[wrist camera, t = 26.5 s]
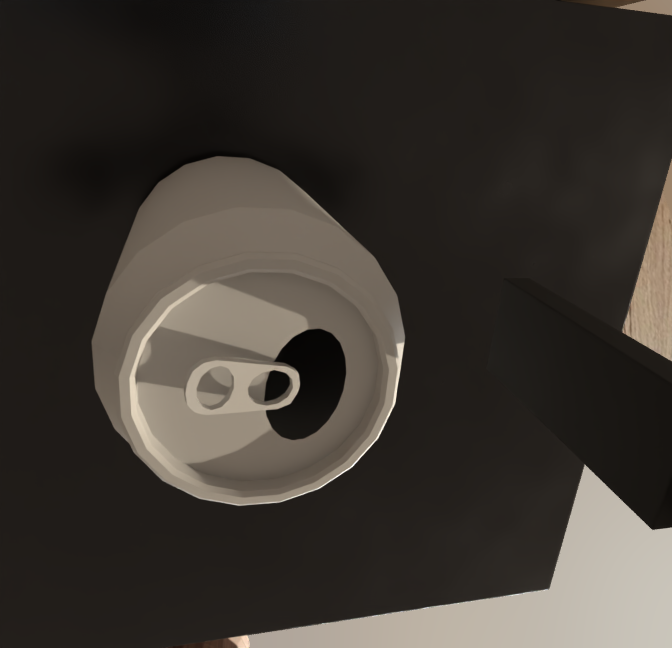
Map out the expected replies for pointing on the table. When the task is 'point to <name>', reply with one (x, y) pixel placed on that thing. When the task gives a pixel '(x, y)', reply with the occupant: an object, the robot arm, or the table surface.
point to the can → (245, 337)
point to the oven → (361, 223)
